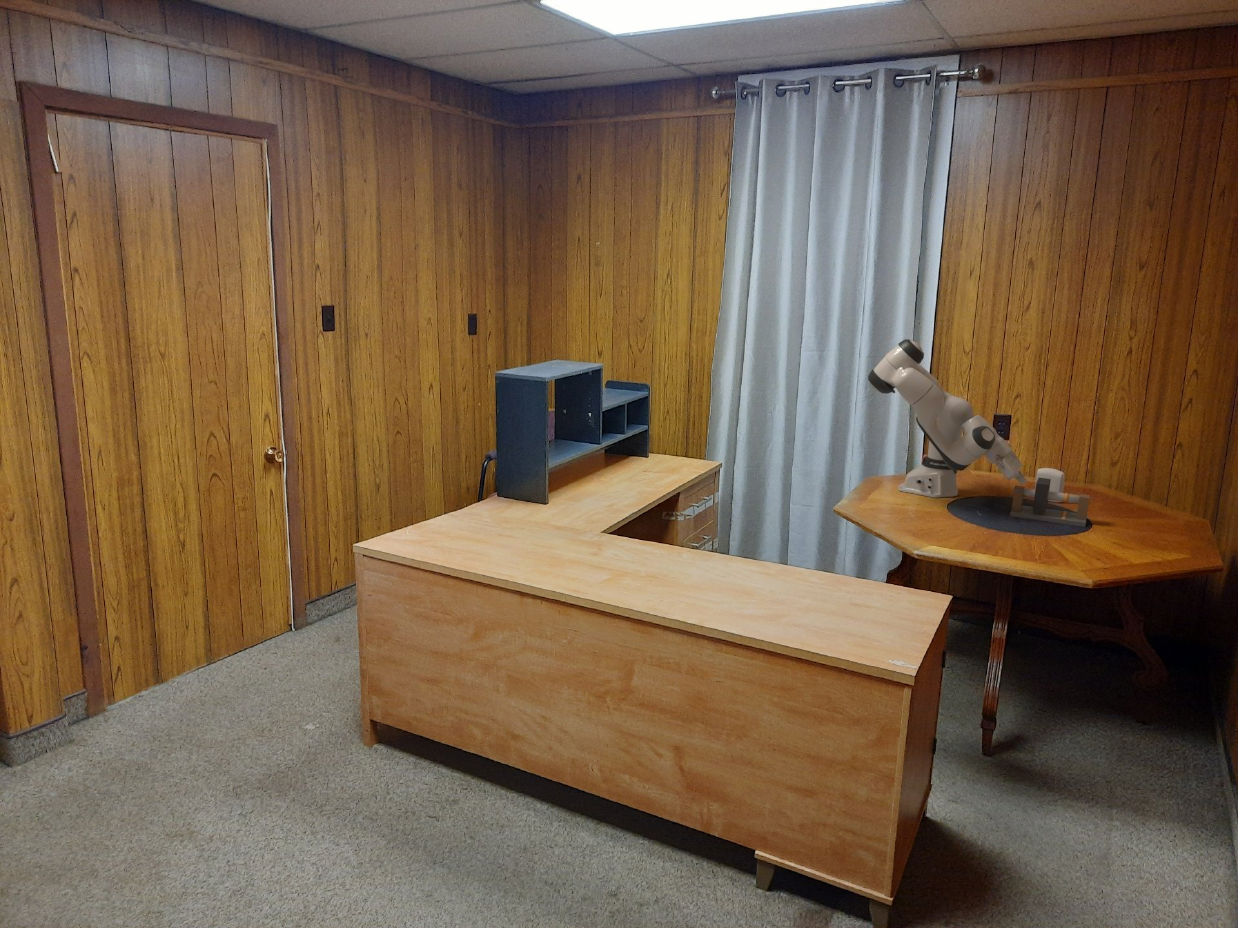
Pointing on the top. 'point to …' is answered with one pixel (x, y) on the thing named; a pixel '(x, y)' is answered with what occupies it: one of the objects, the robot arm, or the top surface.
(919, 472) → the robot arm
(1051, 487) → the photo printer
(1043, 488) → the collar
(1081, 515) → the pipe rig
